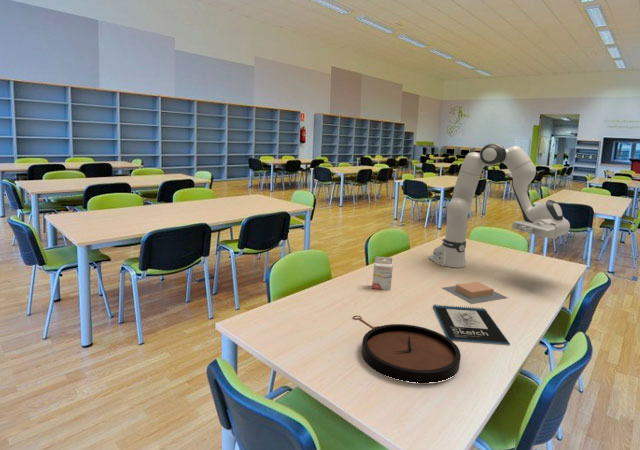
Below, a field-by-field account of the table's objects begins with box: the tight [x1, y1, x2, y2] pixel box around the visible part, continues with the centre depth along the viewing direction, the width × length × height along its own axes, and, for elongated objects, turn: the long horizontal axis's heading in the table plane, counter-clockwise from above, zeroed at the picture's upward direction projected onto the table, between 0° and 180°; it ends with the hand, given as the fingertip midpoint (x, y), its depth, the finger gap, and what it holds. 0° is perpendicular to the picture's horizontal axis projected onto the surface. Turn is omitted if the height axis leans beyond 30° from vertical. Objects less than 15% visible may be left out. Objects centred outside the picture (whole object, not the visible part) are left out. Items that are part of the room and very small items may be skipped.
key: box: [352, 315, 380, 330], centre depth 158 cm, size 6×1×15 cm
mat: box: [441, 285, 509, 305], centre depth 193 cm, size 20×22×1 cm
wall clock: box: [361, 323, 462, 383], centre depth 136 cm, size 31×4×31 cm
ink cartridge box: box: [371, 255, 394, 291], centre depth 194 cm, size 9×5×15 cm, turn 84°
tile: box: [455, 281, 494, 298], centre depth 192 cm, size 10×3×13 cm
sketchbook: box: [432, 304, 511, 346], centre depth 161 cm, size 22×30×2 cm
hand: (521, 229), depth 196 cm, fingers closed
